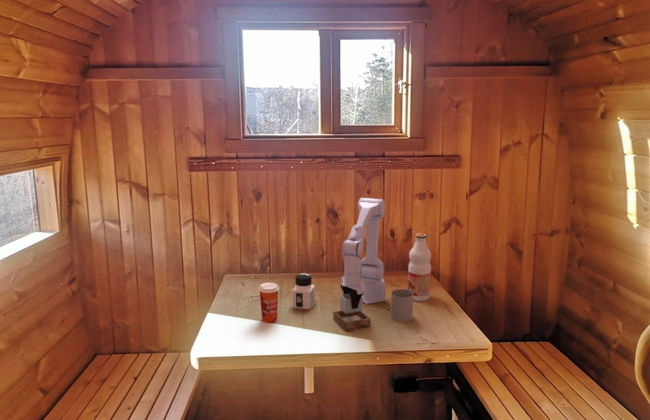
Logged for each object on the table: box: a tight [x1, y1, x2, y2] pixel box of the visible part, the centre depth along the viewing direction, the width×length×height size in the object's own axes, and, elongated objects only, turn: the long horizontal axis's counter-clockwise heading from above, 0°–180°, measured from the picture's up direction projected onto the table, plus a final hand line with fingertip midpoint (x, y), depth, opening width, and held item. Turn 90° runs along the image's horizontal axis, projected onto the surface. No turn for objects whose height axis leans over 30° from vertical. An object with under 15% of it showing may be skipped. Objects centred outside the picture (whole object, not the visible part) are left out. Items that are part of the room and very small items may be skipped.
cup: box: [390, 288, 414, 323], centre depth 193 cm, size 8×8×10 cm
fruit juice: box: [407, 232, 432, 302], centre depth 210 cm, size 9×9×28 cm
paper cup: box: [258, 282, 280, 324], centre depth 191 cm, size 8×8×14 cm
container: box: [291, 273, 316, 310], centre depth 205 cm, size 8×8×13 cm
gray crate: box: [339, 294, 364, 314], centre depth 188 cm, size 7×5×6 cm
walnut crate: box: [332, 309, 371, 332], centre depth 190 cm, size 10×11×3 cm
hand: (351, 305), depth 189 cm, fingers closed on gray crate, 5 cm apart
